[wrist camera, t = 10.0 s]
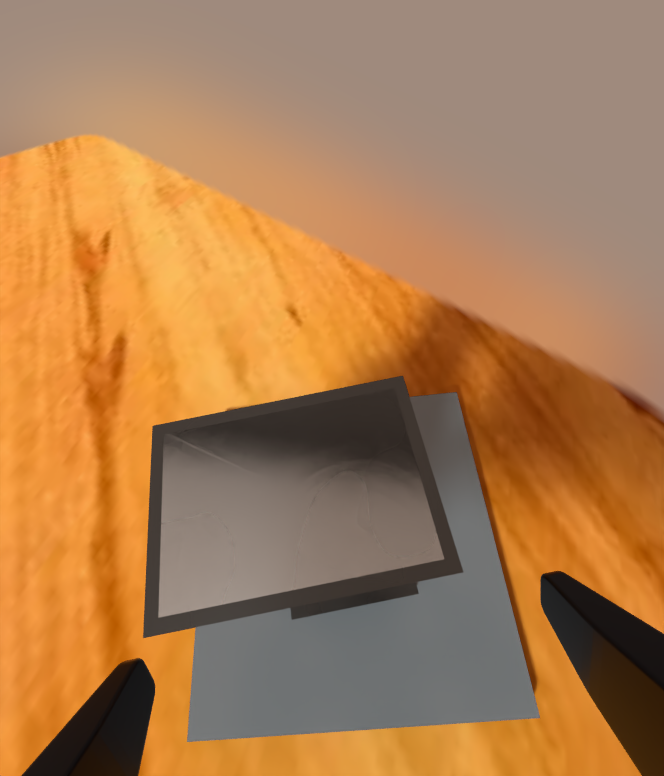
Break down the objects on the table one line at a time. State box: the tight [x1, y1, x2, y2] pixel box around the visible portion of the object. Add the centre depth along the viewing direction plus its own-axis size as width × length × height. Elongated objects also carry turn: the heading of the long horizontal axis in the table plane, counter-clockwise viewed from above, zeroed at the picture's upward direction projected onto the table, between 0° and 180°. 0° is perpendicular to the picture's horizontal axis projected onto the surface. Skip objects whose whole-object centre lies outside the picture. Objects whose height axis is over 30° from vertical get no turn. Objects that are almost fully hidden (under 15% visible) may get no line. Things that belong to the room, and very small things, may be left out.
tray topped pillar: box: [143, 376, 463, 638], centre depth 10 cm, size 5×5×13 cm
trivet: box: [187, 392, 540, 742], centre depth 16 cm, size 13×13×1 cm
